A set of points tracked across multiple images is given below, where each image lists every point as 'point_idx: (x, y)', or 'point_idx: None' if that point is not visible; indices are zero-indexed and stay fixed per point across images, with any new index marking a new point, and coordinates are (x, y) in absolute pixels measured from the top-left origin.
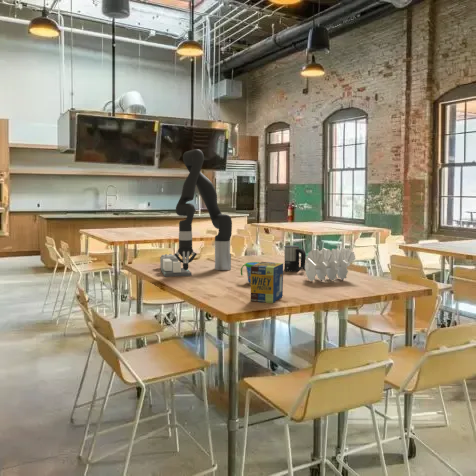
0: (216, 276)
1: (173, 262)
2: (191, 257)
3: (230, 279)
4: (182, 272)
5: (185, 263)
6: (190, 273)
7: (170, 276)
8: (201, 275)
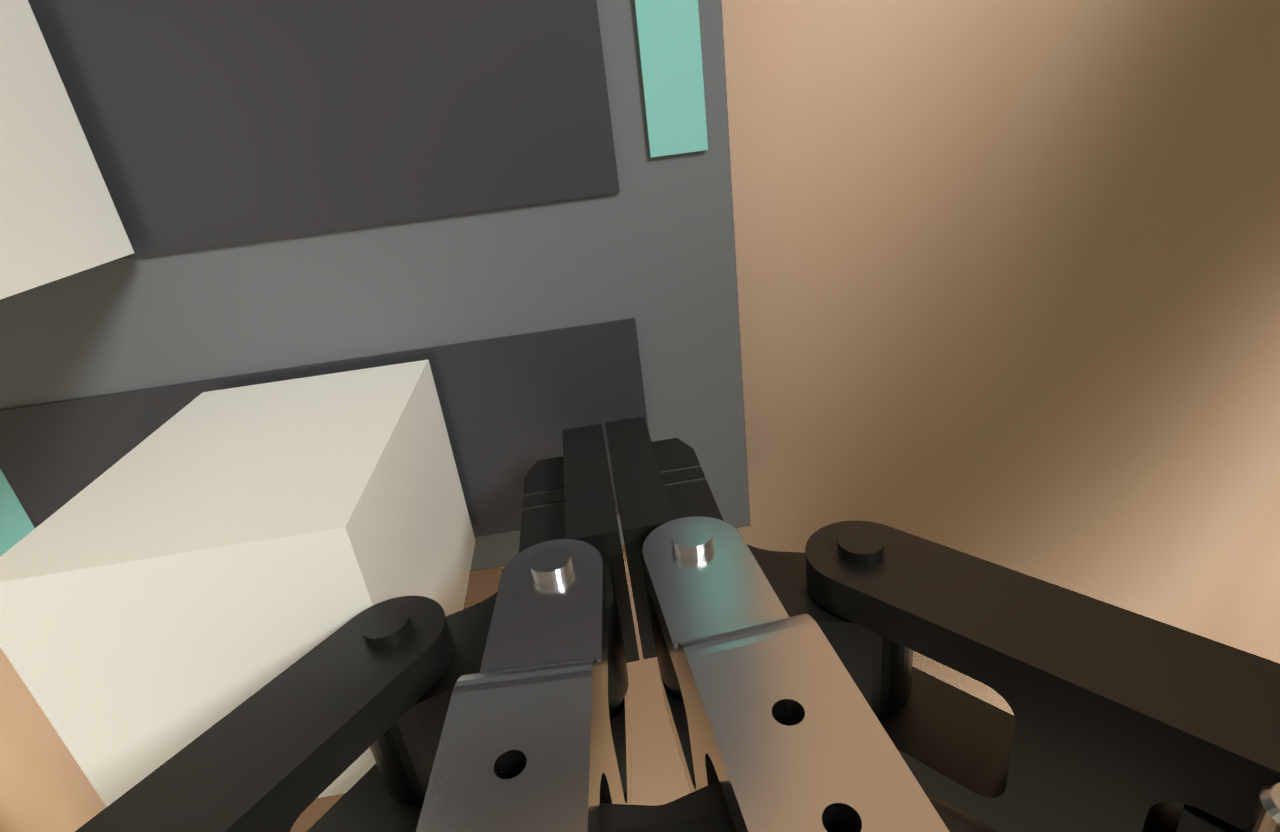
0: (1192, 570)
1: (90, 774)
2: (1019, 709)
3: None
4: (517, 480)
5: (623, 648)
6: None
7: None
8: (954, 452)
